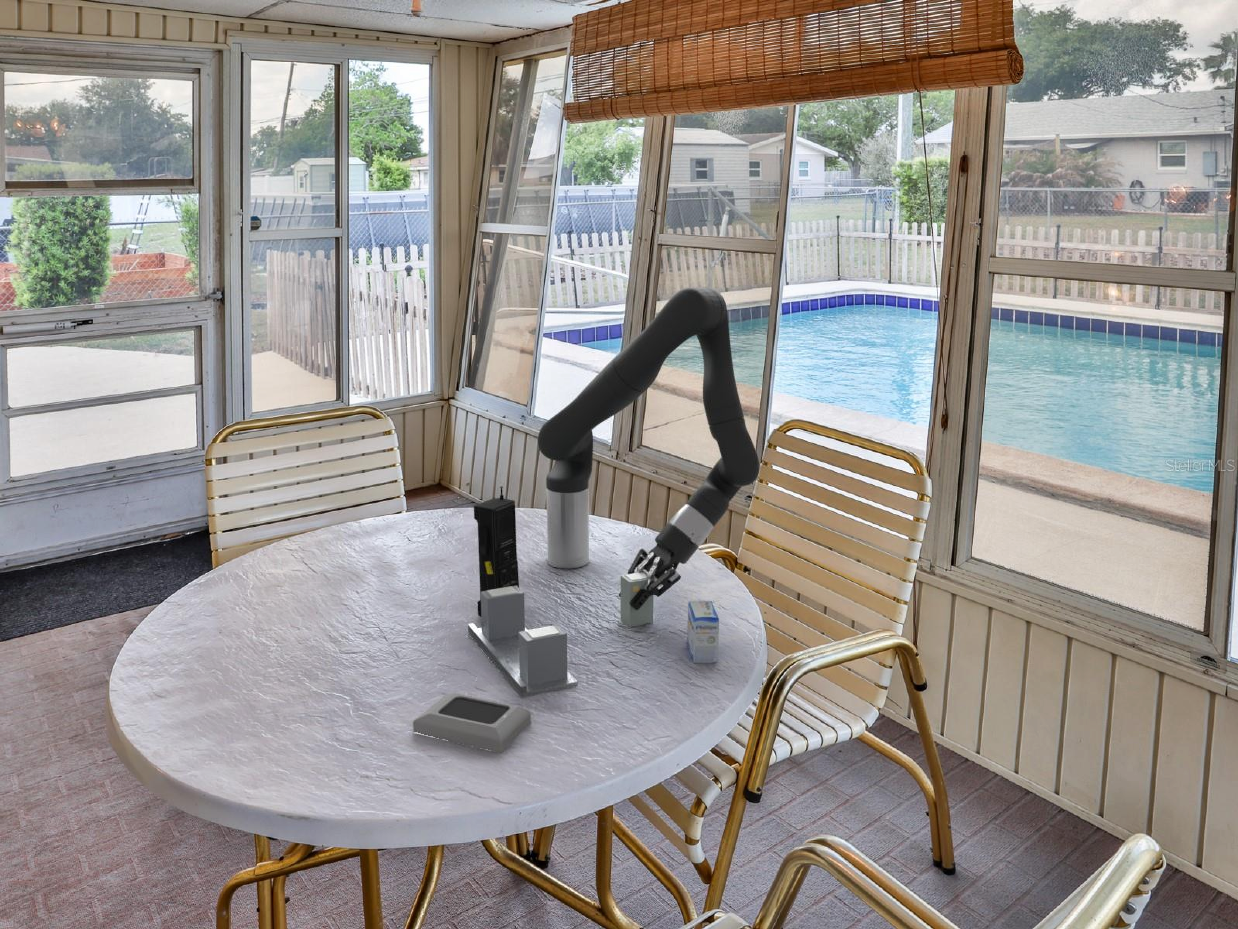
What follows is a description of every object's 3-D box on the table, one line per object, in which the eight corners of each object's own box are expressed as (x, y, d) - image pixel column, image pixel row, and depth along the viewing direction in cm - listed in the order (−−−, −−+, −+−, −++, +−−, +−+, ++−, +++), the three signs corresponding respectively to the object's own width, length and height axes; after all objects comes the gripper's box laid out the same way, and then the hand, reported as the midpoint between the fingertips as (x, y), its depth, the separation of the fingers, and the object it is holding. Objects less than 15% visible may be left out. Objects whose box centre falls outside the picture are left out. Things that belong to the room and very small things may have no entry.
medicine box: (686, 645, 187) (687, 600, 185) (710, 644, 187) (712, 599, 185) (693, 664, 179) (694, 617, 177) (718, 663, 180) (719, 616, 178)
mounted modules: (481, 632, 190) (480, 590, 188) (517, 625, 193) (516, 584, 191) (528, 686, 169) (527, 640, 167) (567, 677, 172) (566, 632, 170)
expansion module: (620, 619, 198) (620, 574, 196) (643, 615, 200) (643, 570, 198) (629, 627, 195) (629, 581, 192) (653, 622, 197) (653, 577, 194)
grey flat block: (446, 687, 164) (530, 704, 158) (446, 708, 165) (531, 726, 159) (412, 714, 155) (500, 733, 150) (413, 736, 156) (501, 755, 151)
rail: (468, 634, 191) (468, 624, 191) (519, 624, 196) (518, 615, 195) (521, 698, 167) (520, 687, 166) (577, 686, 171) (577, 675, 171)
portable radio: (498, 625, 195) (494, 499, 189) (473, 619, 198) (468, 494, 192) (523, 612, 202) (520, 489, 195) (499, 605, 205) (495, 484, 198)
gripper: (655, 512, 202) (599, 580, 200) (690, 533, 190) (631, 605, 188) (678, 534, 206) (623, 601, 204) (715, 556, 193) (657, 627, 191)
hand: (627, 602), depth 196 cm, fingers closed on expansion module, 4 cm apart
